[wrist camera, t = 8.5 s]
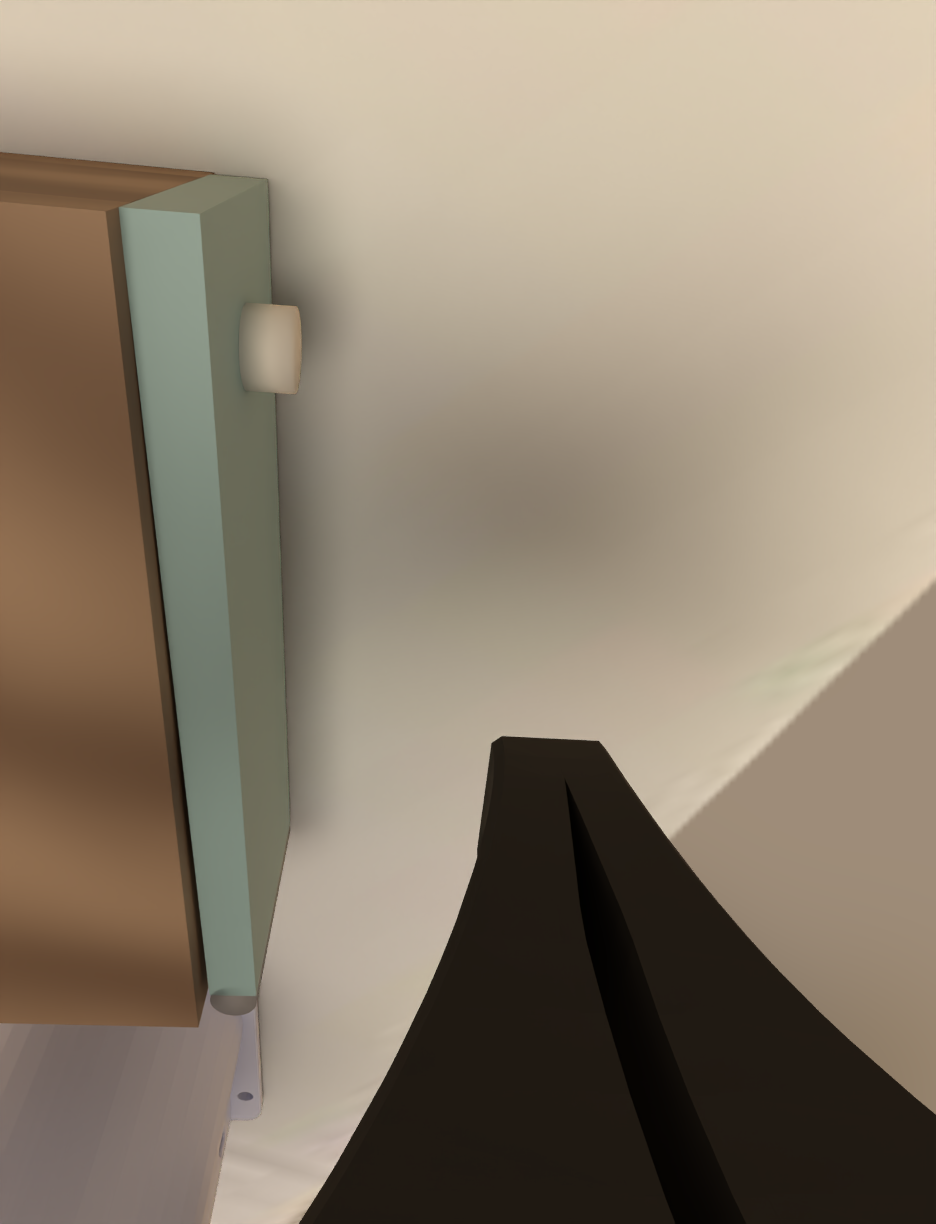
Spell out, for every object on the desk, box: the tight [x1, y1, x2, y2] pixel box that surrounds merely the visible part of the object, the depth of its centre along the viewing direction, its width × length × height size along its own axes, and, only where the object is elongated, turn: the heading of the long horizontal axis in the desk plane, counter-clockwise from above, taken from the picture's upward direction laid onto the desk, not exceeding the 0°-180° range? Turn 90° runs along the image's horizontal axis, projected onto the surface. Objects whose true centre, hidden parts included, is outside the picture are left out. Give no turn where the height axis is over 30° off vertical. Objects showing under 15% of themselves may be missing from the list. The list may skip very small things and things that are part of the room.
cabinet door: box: [119, 174, 302, 1016], centre depth 17 cm, size 16×2×5 cm, turn 175°
